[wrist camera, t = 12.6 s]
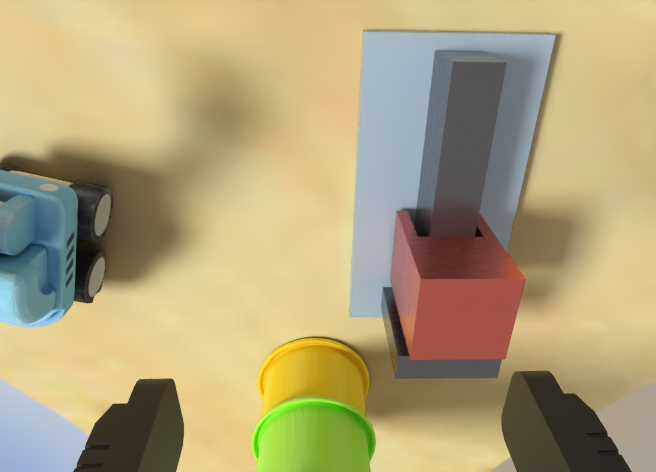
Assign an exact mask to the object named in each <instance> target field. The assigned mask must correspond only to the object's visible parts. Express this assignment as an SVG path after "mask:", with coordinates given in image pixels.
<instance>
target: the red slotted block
mask: <svg viewBox="0 0 656 472" xmlns="http://www.w3.org/2000/svg"><path fill="white" fill-rule="evenodd" d="M525 280H526V279H525V277H524V276H523V275H522V273H521V272H520V270H519V269H518V267H517V266H516V265H515V263H514V262H513V260H512V259H511V257H510V256H509V255H508V253H507V252H506V250H505V249H504V247H503V246H502V245H501V243H500V242H499V240H498V239H497V237H496V236H495V235H494V233H493V232H492V230H491V229H490V227H489V226H488V225H487V223H486V222H485V220H484V219H483V217H482V216H481V214H480V213H479V217H478V222H477V227H476V233H475V237H418V236H417V233H416V231H415V228H414V226H413V223H412V221H411V218H410V216H409V213H408V211H396V221H395V232H394V242H393V253H392V263H391V274H390V282H391V286H392V290H393V294H394V298H395V302H396V306H397V310H398V314H399V317H400V321H401V325H402V329H403V333H404V337H405V341H406V345H407V349H408V353H409V357H410V360H454V359H505V358H506V354H507V351H508V347H509V343H510V339H511V335H512V331H513V327H514V323H515V319H516V315H517V311H518V307H519V303H520V299H521V295H522V291H523V287H524V284H525Z"/></svg>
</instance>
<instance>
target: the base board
mask: <svg viewBox="0 0 656 472" xmlns="http://www.w3.org/2000/svg"><path fill="white" fill-rule="evenodd" d="M555 36H556V35H553V34H549V33H496V32H438V31H381V30H363V42H362V62H361V83H360V103H359V123H358V144H357V164H356V185H355V205H354V225H353V246H352V266H351V287H350V307H349V311H350V317H383V315H382V310H381V300H382V289H383V287H392V286H391V282H390V274H391V263H392V253H393V242H394V232H395V221H396V211H408V213H409V216H410V218H411V221H412V223H413V226H414V225H415V217H416V208H417V200H418V191H419V182H420V174H421V165H422V156H423V148H424V139H425V131H426V122H427V113H428V105H429V96H430V88H431V79H432V70H433V62H434V53H435V50H454V51H483V52H485V53H488V54H490V55H492V56H494V57H496V58H499V59H501V60H503V61H505V62H507V65H506V70H505V76H504V81H503V87H502V92H501V97H500V103H499V108H498V114H497V119H496V125H495V130H494V135H493V141H492V146H491V152H490V157H489V162H488V168H487V173H486V179H485V184H484V189H483V195H482V200H481V206H480V211H479V213H480V214H481V216H482V217H483V219H484V220H485V222H486V223H487V225H488V226H489V227H490V229H491V230H492V232H493V233H494V235H495V236H496V237H497V239H498V240H499V242H500V243H501V245H502V246H503V247H504V249H505V250H506V252H507V250H508V245H509V241H510V237H511V232H512V228H513V223H514V219H515V214H516V210H517V205H518V201H519V196H520V192H521V188H522V183H523V179H524V174H525V170H526V165H527V161H528V156H529V152H530V147H531V143H532V139H533V134H534V130H535V125H536V121H537V116H538V112H539V107H540V103H541V99H542V94H543V90H544V85H545V81H546V76H547V72H548V67H549V63H550V58H551V54H552V50H553V45H554V41H555Z"/></svg>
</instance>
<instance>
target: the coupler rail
mask: <svg viewBox="0 0 656 472" xmlns="http://www.w3.org/2000/svg"><path fill="white" fill-rule="evenodd" d="M506 65H507V62H505V61H503V60H501V59H499V58H496V57H494V56H492V55H490V54H488V53H485V52H483V51H454V50H435V53H434V62H433V70H432V79H431V88H430V96H429V105H428V113H427V122H426V131H425V139H424V148H423V156H422V165H421V174H420V182H419V191H418V200H417V208H416V217H415V225H414V228H415V231H416V233H417V236H418V237H475V233H476V227H477V222H478V217H479V211H480V206H481V200H482V195H483V189H484V184H485V179H486V173H487V168H488V162H489V157H490V152H491V146H492V141H493V135H494V130H495V125H496V119H497V114H498V108H499V103H500V97H501V92H502V87H503V81H504V76H505V70H506ZM381 310H382V315H383V320H384V325H385V330H386V335H387V340H388V344H389V349H390V354H391V359H392V364H393V369H394V374H395V378H497V376H498V372H499V368H500V364H501V360H502V359H454V360H410V357H409V353H408V349H407V345H406V341H405V337H404V333H403V329H402V325H401V321H400V317H399V314H398V310H397V306H396V302H395V298H394V294H393V290H392V287H383V289H382V300H381Z"/></svg>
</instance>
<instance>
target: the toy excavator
mask: <svg viewBox="0 0 656 472" xmlns="http://www.w3.org/2000/svg"><path fill="white" fill-rule="evenodd" d="M112 206H113V198H112V192H111V190H110V189H109V188H107V187H104V186H99V185H95V184H90V183H86V182H83V181H78V182H77V183H74V184H73V183H70V182H66V181H62V180H58V179H53V178H48V177H44V176H39V175H34V174H30V173H25V172H20V170H19V169H18V168H16V167H15V166H10V165H5V164H0V321H1V322H4V323H8V324H11V325H16V326H23V327H39V326H45V325H49V324H52V323H55V322H57V321H58V320H60V319H61V318H62V317H63V316H64V315H65V314H66V312H67V311H68V310H69V309H70V307H71V306H72V304H73V301H78V302H83V303H92V302H93V298H94V296H95V295H96V294H97V293H98V292H99V291H100V290H101V287H102V283H103V280H104V275H105V272H106V270H105V259H104V255H105V254H104V252H103V251H101V250H95V249H90V248H85V247H80V246H77V244H76V240H77V239H78V240H83V241H88V242H94V243H97V241H98V239H99V237H100V236H103V235H105V231H106V229H107V224H108V221H109V219H110V218H111V216H109V215H110V207H112Z"/></svg>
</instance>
